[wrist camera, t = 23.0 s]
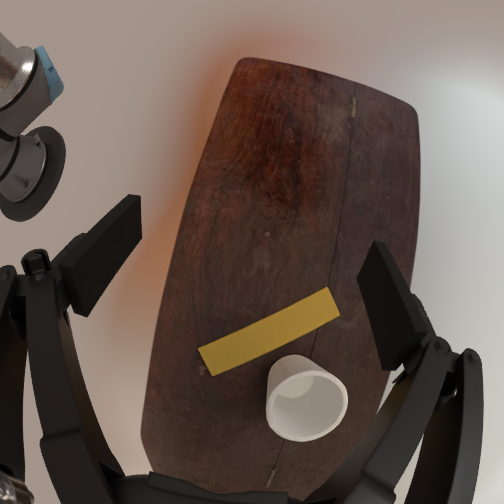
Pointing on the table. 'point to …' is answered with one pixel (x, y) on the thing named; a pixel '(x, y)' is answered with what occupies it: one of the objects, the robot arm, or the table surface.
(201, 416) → the table surface
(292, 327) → the yellow plank
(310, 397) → the cup
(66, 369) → the robot arm
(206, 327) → the table surface
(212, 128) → the table surface
